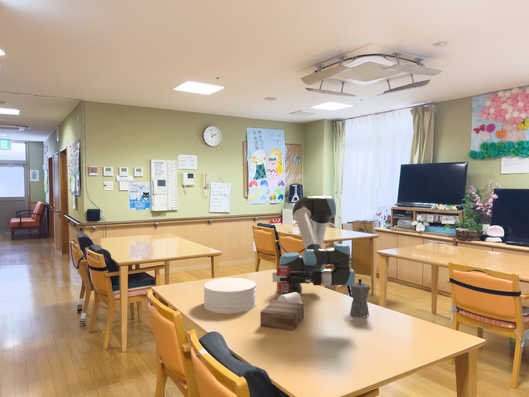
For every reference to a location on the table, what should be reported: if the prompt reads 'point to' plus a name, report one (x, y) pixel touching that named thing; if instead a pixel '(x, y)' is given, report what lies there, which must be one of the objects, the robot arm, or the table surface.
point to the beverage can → (283, 286)
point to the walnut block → (282, 315)
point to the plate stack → (229, 295)
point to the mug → (291, 298)
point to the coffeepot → (359, 298)
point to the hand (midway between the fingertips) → (272, 277)
